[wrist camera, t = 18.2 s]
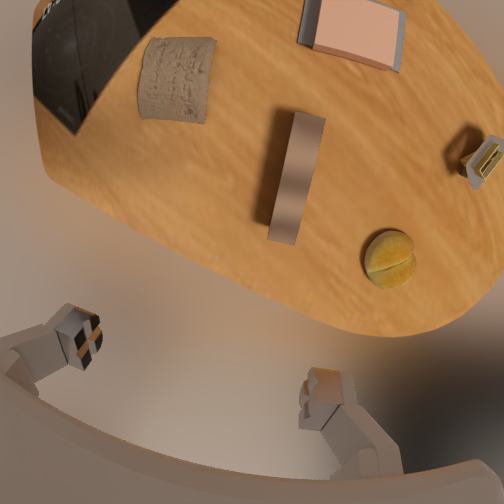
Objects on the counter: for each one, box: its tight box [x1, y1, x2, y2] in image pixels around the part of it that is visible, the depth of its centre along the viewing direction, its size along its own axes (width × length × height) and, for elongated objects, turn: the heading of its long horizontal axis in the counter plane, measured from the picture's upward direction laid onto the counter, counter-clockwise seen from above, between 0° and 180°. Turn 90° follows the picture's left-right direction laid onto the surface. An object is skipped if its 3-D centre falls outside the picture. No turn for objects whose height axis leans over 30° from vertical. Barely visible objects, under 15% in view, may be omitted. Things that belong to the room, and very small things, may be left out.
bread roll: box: [364, 231, 416, 289], centre depth 39 cm, size 8×9×4 cm
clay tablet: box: [137, 37, 217, 124], centre depth 32 cm, size 14×10×3 cm
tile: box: [312, 0, 399, 71], centre depth 26 cm, size 3×10×9 cm
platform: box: [460, 135, 504, 190], centre depth 29 cm, size 12×18×7 cm, turn 141°
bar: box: [267, 111, 326, 245], centre depth 35 cm, size 16×4×5 cm, turn 169°
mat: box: [298, 0, 406, 73], centre depth 27 cm, size 10×14×1 cm
